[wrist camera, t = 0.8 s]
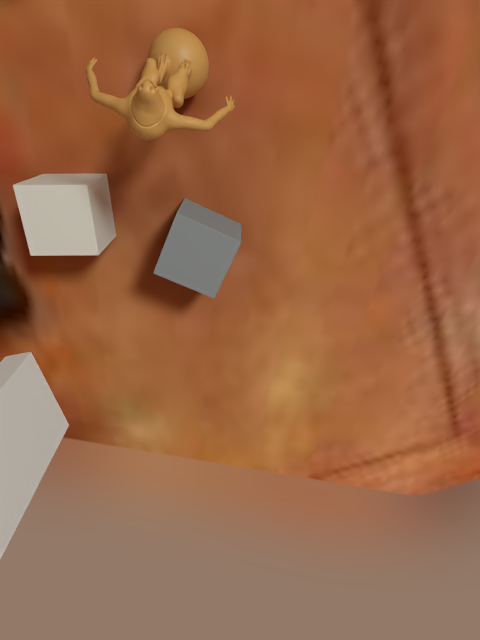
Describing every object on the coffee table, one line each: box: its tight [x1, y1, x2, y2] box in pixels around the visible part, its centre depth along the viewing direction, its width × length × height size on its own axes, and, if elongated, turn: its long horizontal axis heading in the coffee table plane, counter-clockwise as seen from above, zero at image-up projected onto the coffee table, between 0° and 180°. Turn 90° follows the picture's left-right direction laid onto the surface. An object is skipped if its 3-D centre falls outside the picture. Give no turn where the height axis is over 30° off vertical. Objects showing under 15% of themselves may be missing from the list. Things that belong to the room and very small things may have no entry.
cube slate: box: [153, 198, 241, 298], centre depth 33 cm, size 5×5×5 cm
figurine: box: [86, 28, 234, 141], centre depth 24 cm, size 8×6×12 cm
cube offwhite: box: [13, 174, 116, 256], centre depth 31 cm, size 5×5×5 cm
